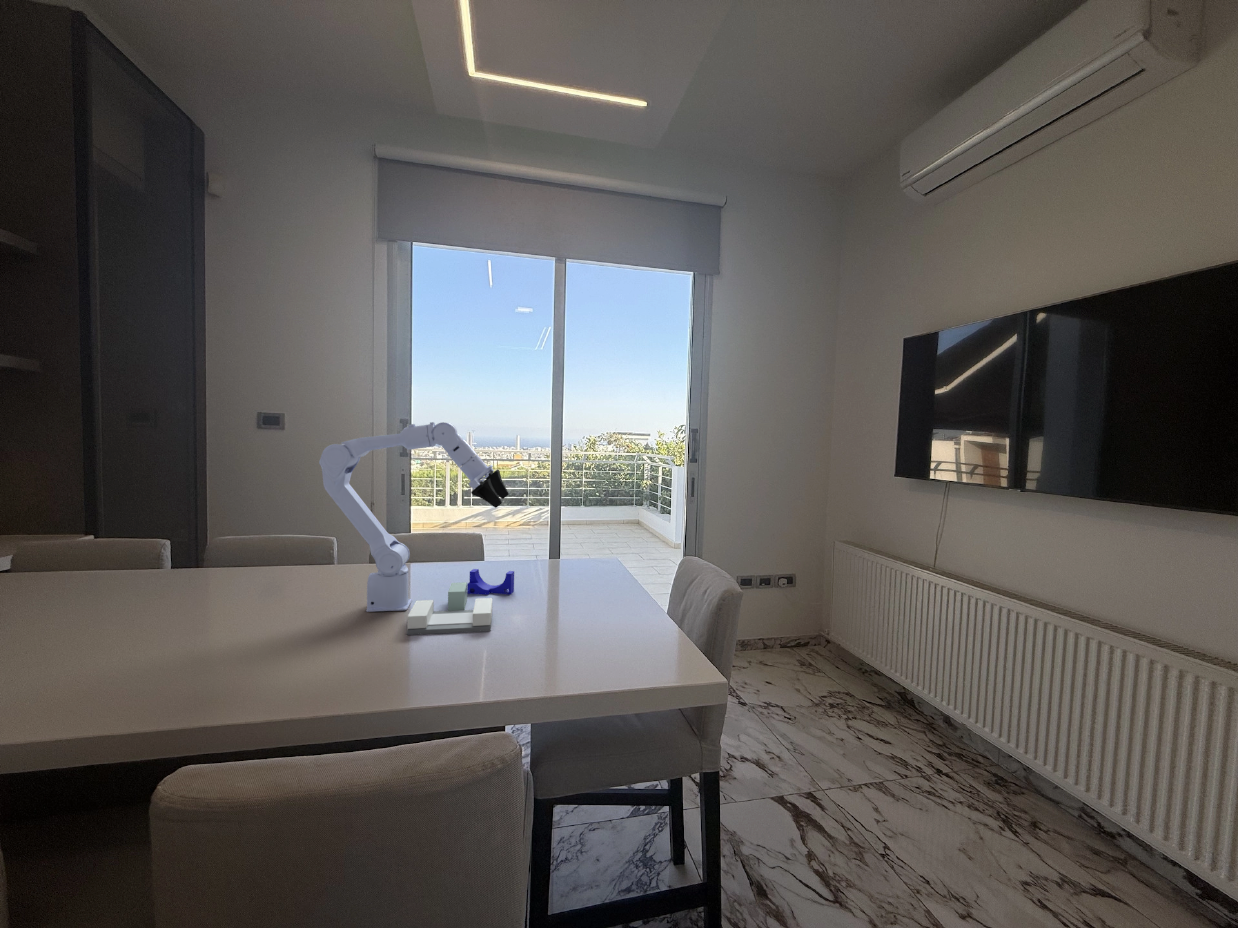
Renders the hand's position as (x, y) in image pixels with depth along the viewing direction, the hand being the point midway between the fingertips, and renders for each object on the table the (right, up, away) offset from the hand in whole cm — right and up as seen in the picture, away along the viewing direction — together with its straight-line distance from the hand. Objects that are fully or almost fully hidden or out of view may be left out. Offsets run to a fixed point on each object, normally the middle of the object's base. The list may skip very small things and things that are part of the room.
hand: (502, 500), depth 138 cm
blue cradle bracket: (-6, -27, +10) cm, 29 cm away
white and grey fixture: (-9, -28, -14) cm, 32 cm away
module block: (-11, -27, -1) cm, 30 cm away
